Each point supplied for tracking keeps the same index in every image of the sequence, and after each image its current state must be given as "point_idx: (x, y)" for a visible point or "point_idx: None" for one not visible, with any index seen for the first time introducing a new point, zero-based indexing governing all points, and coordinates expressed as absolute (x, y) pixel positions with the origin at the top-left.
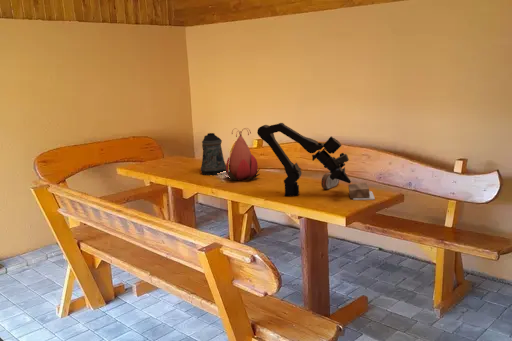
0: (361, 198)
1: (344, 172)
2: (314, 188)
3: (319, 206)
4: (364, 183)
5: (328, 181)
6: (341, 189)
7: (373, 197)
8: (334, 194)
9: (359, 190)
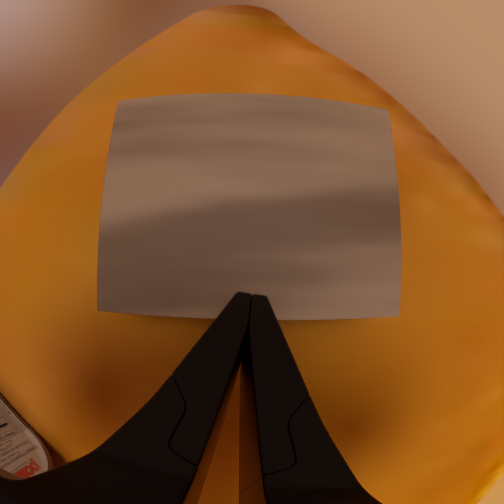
0: None
1: (189, 486)
2: None
3: (464, 474)
4: (139, 120)
5: (6, 458)
6: (29, 344)
7: None
8: None
9: (393, 206)
